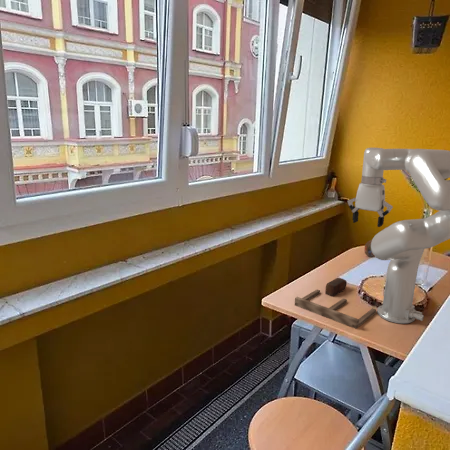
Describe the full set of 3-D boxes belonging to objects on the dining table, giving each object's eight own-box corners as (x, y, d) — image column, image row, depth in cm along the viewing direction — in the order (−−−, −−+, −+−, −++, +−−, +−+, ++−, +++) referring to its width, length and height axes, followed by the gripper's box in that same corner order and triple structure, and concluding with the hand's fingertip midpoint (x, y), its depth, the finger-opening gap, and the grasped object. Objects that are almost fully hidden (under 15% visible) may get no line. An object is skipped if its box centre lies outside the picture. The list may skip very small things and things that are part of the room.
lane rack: (375, 312, 146) (376, 305, 145) (356, 328, 135) (356, 320, 134) (316, 292, 162) (317, 285, 161) (294, 305, 151) (295, 297, 150)
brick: (333, 297, 158) (334, 286, 157) (324, 294, 161) (325, 283, 159) (346, 289, 166) (347, 278, 164) (337, 286, 168) (338, 276, 167)
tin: (367, 258, 201) (369, 242, 198) (362, 256, 203) (364, 240, 201) (387, 253, 208) (389, 238, 206) (382, 252, 210) (384, 236, 208)
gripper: (398, 182, 150) (393, 226, 155) (354, 177, 161) (350, 218, 166) (391, 184, 145) (386, 230, 149) (346, 179, 156) (342, 222, 160)
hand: (367, 224), depth 157 cm, fingers open, 9 cm apart
